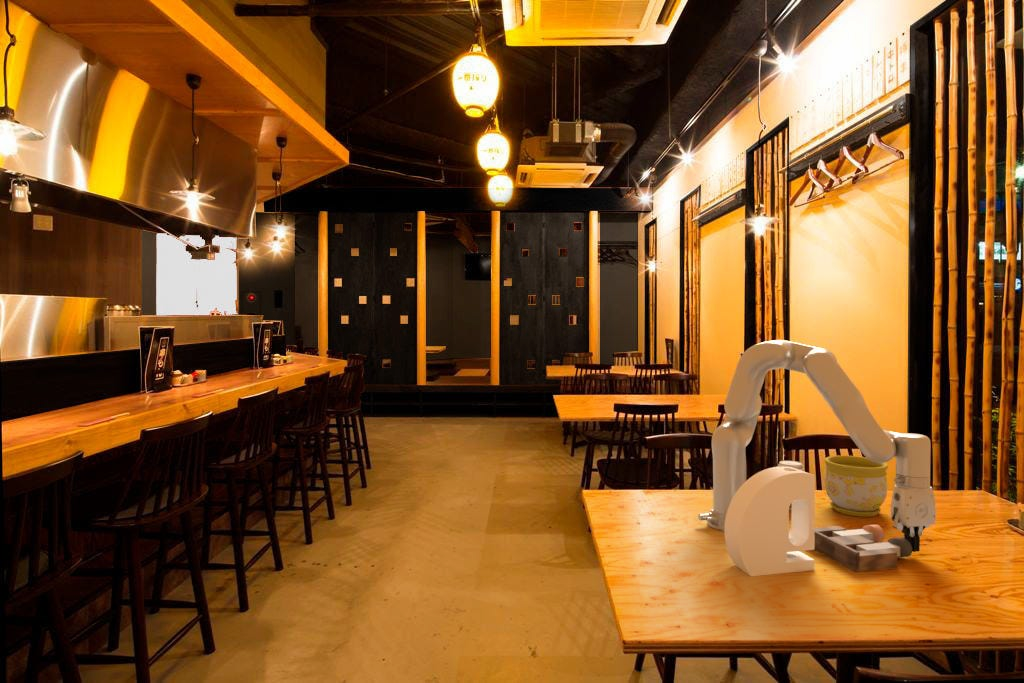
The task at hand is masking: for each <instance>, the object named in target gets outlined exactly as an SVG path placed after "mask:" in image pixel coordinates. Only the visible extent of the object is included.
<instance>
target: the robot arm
mask: <svg viewBox="0 0 1024 683" xmlns="http://www.w3.org/2000/svg"><path fill="white" fill-rule="evenodd" d="M780 369H785V370H789V371H793V372H798V373H802V374H805V375H806V376H807V378H808V379H809V380H810V382H811V383H812V385H814V387H815V388H816V390H817V391H818V393H819V394H820V395H821V397H822V398H823V399H824V400H825V402H826V403H827V405H828V407H829V408H830V409H831V410H832V412H833V414H834V415H835V417H836V418H837V419H838V421H839V422H840V423H841V426H843V428H844V430H845V431H846V433H847V434H848V435H849V437H850V439H851V440H852V441H853V442H854V444H855V446H856V447H857V448H858V449H859V451H860V452H861V453H862V454H863V455H864V456H865V457H866V458H868V459H869V460H871V461H873V462H875V463H888V462H890V461H892V459H893V458H895V477H894V478H893V482H894V483H895V484H894V485H893V489H892V490H893V491H892V494H891V495H892V496H891V501H890V519H891V521H892V522H893V525H892V528H894V529H896V530H899V531H901V533H902V534H903V538H905V539H907V540H908V541H909V542H910V544H911V546H912V553H913V552H920V549H921V548H920V546H921V543H920V540H921V539H920V537H921V536H923V532H924V530H925V529H926V528H929V527H931V526H932V525H934V524H936V521H937V512H936V510H937V509H936V508H937V507H936V500H935V499H936V498H935V492H934V489H933V486H931V452H932V451H931V442H932V441H931V439H930V438H929V437H928V436H927V435H924V434H920V433H912V432H911V433H909V432H907V433H905V432H903V433H900V432H894V431H892V430H891V431H890V430H885V429H882V427H881V426H880V424H879V423H878V422H877V420H876V418H875V417H874V416H873V415H872V413H871V411H870V409H869V408H868V405H867V403H866V400H865V398H864V396H863V395H862V393H861V391H860V390H859V389H858V387H857V386H856V385H855V384H854V382H853V381H852V380H851V379H850V377H849V376H848V375H847V373H846V372H845V371H844V369H843V368H842V366H841V365H840V364H839V362H838V359H837V357H836V355H835V354H834V353H833V352H832V351H831V350H830V349H826V348H823V347H816V346H813V345H812V346H811V345H807V344H802V343H799V342H793V341H789V340H785V339H774V340H768V341H763V342H759V343H756V344H754V345H752V346H750V347H749V348H747V349H746V350H744V352H742V354H741V356H740V358H739V360H738V362H737V365H736V367H735V370H734V374H733V376H732V380H731V382H730V386H729V389H728V391H727V395H726V397H725V400H724V412H725V417H724V420H723V423H722V424H720V425H719V426H717V427H716V428H715V430H714V432H713V433H712V436H711V452H712V475H713V476H712V481H713V483H712V484H713V485H712V492H713V493H712V495H713V496H712V499H713V500H712V506H713V507H712V509H711V508H710V509H709V511H708V512H707V513H699V514H698V515H697V516H698V517H697V518H698V520H699V521H706V522H707V524H708V526H709V527H711V528H713V529H715V530H716V531H717V530H719V531H722V532H724V528H725V518H726V514H727V510H728V507H729V505H730V502H731V500H732V498H733V497H734V495H735V493H736V492H737V491H738V489H739V488H740V487H741V486H742V485H743V484H744V483H745V482H746V481H747V459H746V458H747V456H746V447H747V446H748V445H749V444H750V442H751V441H752V439H753V435H754V433H755V430H756V426H757V423H758V419H759V417H760V414H761V410H762V404H763V401H762V397H761V395H760V394H761V390H762V388H763V384H764V381H765V378H766V374H767V373H768V372H769V371H771V370H780ZM864 456H863V457H864Z"/></svg>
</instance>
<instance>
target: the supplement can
mask: <svg viewBox="0 0 1024 683" xmlns="http://www.w3.org/2000/svg"><path fill="white" fill-rule="evenodd" d="M781 466H783V467H792V468H796V469H799V470H802V471H804V472H805V467H804V464H803V463H802V462H800V461H796V460H780V461H779V463H778V464H777V466H776V467H781ZM789 511H792V503H791V504H790V506H789Z"/></svg>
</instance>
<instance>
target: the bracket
mask: <svg viewBox="0 0 1024 683" xmlns="http://www.w3.org/2000/svg"><path fill="white" fill-rule="evenodd" d="M815 480H816V476H815V474H814V473H813V474H812V473H809V472H806V471H805V470H804V471H802V470H799V469H796V468H792V467H783V466H781V467H777V466H773V467H768V468H765V469H763V470H760V471H758V472H756V473H755V474H753V475H752V476H750V477H749V478H748V479H746V482H745V483H744V484H743V485H742V486H741V487H740V488H739V489H738V491H737V492H736V493H735V495H734V497H733V498H732V500H731V502H730V505H729V507H728V510H727V514H726V518H725V528H724V531H723V533H724V541H725V546H726V550H727V551H728V554H729V557H730V559H731V560H732V563H733V564H734V565H735V566H736V567H737V568H739V570H741V571H742V572H744V573H746V574H747V575H749V576H750V577H758V576H766V575H767V576H768V575H777V574H785V573H786V574H788V573H796V572H806V571H807V572H809V571H815V559H814V558H812V557H810V556H809V555H807V554H806V553H804V552H803V551H805V552H806V551H813V550H814V543H815V528H816V527H815V516H816V515H815V514H816V513H815V512H816V510H815V509H816V508H815V504H816V503H815V502H816V498H815V496H816V495H815V494H816V492H815V491H816V489H815V488H816V486H815V484H816V483H815V482H816V481H815ZM791 503H792V510H791V514H789V512H790V510H789V506H790V504H791ZM790 515H791V526H790V522H789V520H790ZM789 526H790V527H789ZM789 528H790V530H789ZM814 551H815V550H814Z"/></svg>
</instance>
